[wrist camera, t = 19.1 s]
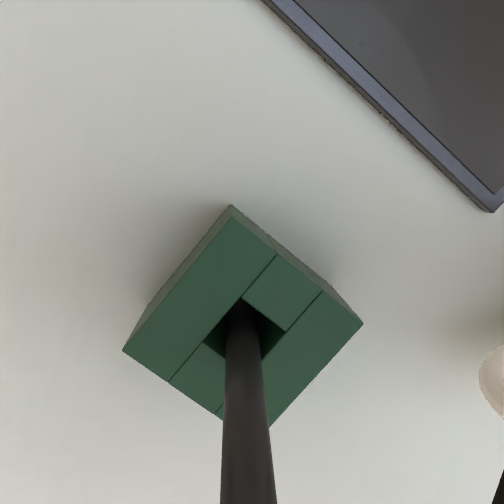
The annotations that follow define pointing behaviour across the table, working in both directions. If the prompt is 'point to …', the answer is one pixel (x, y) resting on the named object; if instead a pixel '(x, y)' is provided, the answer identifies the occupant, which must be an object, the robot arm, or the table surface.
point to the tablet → (422, 75)
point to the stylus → (245, 415)
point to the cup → (493, 379)
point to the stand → (268, 316)
